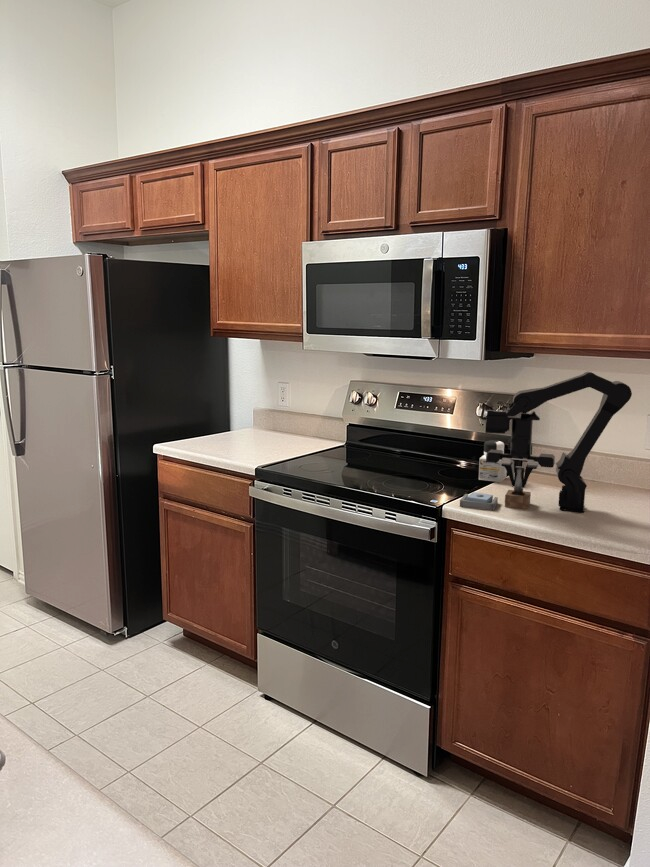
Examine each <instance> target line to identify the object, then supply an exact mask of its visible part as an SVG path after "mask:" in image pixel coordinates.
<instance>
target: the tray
mask: <svg viewBox="0 0 650 867" xmlns="http://www.w3.org/2000/svg"><path fill="white" fill-rule="evenodd" d="M467 496H469V494H468V493H465V494H463V496H462V497H461V498H460V499H459V507H461V506H463V507H462V508H469V507H470V508H471V509H478V508H480V510H486V509H488V510H487V511H489V510H490V511H494V510H495V508H496V506H497V505H498V503H499V502H498V501H499V500H498V499H499V498H498V497H497V496H494V497H493V501H492V502H491V503H485V502H476V501H467ZM493 509H494V510H493Z"/></svg>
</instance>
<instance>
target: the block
mask: <svg viewBox="0 0 650 867" xmlns="http://www.w3.org/2000/svg"><path fill="white" fill-rule="evenodd" d="M493 499H494V495H493V494H489V493H482V492H475V491H473V492H471V493H470V494H468V496H467V501H476V502H485V503H491V502H492V501H493Z"/></svg>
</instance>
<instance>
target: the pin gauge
mask: <svg viewBox="0 0 650 867" xmlns="http://www.w3.org/2000/svg"><path fill="white" fill-rule="evenodd" d="M524 475H525V467H524V466H517V465H516V466H514V487H513V490H514V495H522V496H523V491H524V488H523V481H524Z"/></svg>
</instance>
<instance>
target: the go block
mask: <svg viewBox="0 0 650 867" xmlns="http://www.w3.org/2000/svg"><path fill="white" fill-rule="evenodd" d="M530 505H531V491H526V490H525V491H524V490H523V496H522V495H514V489H508V490H507V491H506V494H505V496H504V508H505V507H506V508H514V509H523V510H528V509H529V507H530Z"/></svg>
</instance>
